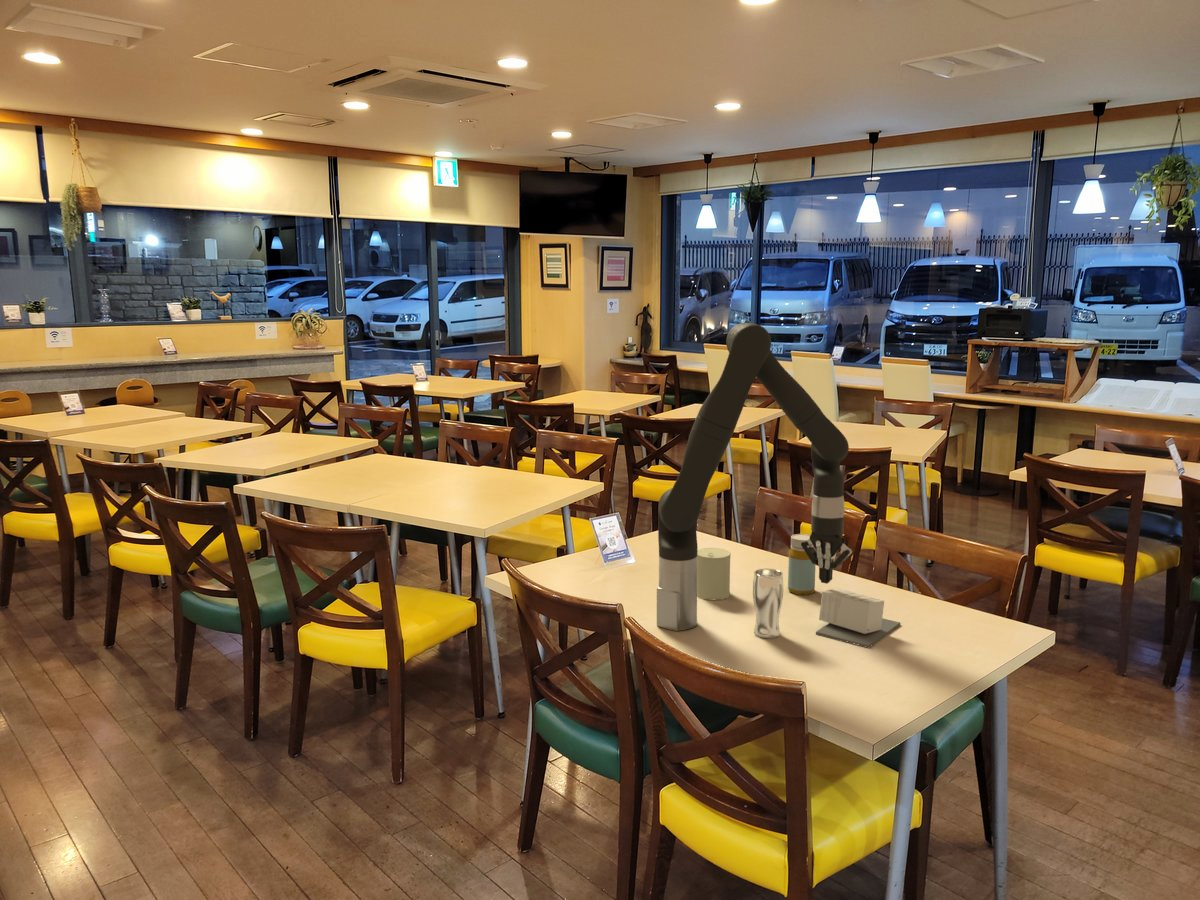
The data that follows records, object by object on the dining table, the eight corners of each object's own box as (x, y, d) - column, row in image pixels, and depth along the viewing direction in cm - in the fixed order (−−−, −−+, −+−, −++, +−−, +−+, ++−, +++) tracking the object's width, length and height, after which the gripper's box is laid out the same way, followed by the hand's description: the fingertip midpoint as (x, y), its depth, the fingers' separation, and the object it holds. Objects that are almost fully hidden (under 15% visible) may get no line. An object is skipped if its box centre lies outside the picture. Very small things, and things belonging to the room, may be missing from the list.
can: (691, 597, 231) (691, 554, 229) (700, 586, 239) (701, 544, 237) (725, 602, 228) (726, 557, 226) (733, 590, 236) (734, 548, 234)
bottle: (814, 596, 231) (816, 541, 229) (787, 594, 233) (789, 540, 230) (814, 587, 238) (815, 534, 235) (787, 586, 239) (789, 532, 237)
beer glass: (764, 641, 202) (765, 579, 199) (745, 631, 208) (747, 570, 205) (788, 636, 205) (790, 574, 202) (769, 626, 211) (770, 566, 208)
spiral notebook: (868, 648, 197) (868, 645, 197) (815, 634, 206) (815, 631, 206) (900, 624, 211) (900, 622, 211) (849, 612, 219) (849, 610, 219)
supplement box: (834, 616, 215) (881, 631, 206) (817, 619, 210) (865, 634, 201) (838, 587, 215) (885, 600, 206) (821, 589, 210) (869, 603, 201)
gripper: (795, 512, 211) (793, 581, 214) (847, 520, 202) (844, 592, 206) (809, 506, 217) (807, 573, 220) (860, 514, 208) (858, 583, 211)
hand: (825, 582), depth 213 cm, fingers closed
